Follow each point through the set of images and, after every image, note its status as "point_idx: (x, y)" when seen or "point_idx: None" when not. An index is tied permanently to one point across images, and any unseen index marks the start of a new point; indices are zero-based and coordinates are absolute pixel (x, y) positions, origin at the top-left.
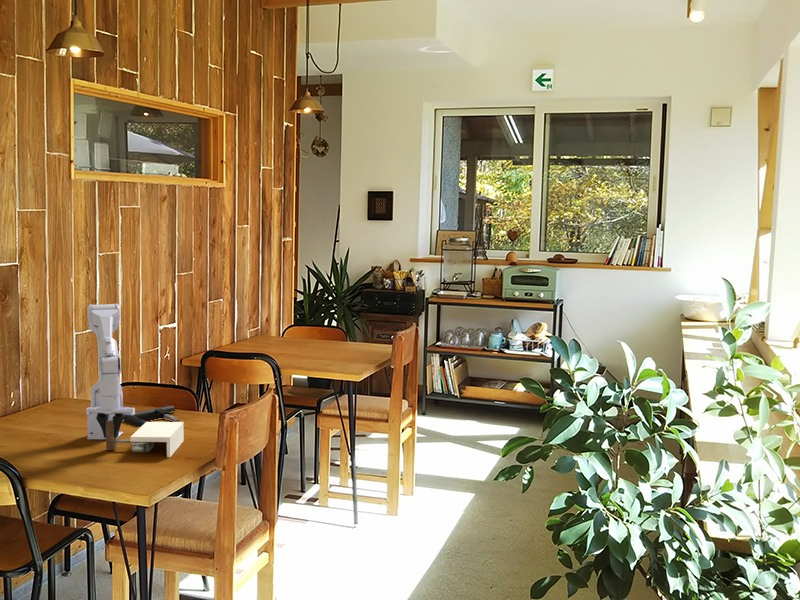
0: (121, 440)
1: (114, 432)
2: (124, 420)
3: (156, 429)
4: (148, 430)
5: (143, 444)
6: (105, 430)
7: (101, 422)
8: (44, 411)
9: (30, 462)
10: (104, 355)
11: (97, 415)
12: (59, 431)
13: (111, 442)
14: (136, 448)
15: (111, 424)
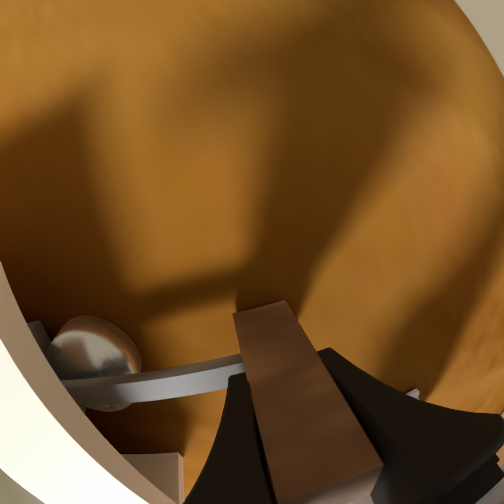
0: (197, 378)
1: (244, 404)
2: None
3: (19, 454)
4: (29, 444)
5: (69, 375)
6: (344, 392)
7: (427, 429)
8: None
9: (484, 72)
10: None
11: (496, 463)
12: (474, 390)
13: (260, 338)
14: (77, 329)
15: (299, 467)
